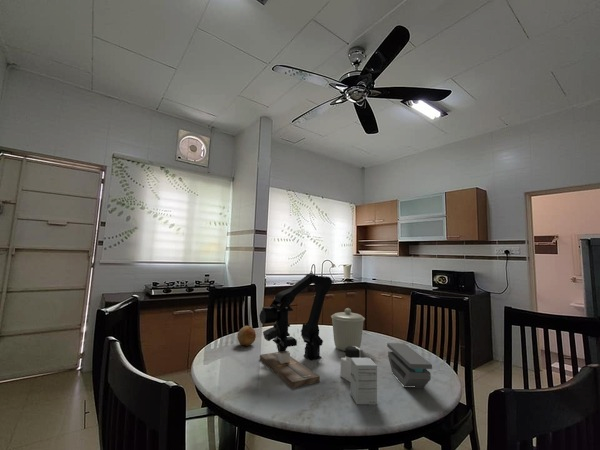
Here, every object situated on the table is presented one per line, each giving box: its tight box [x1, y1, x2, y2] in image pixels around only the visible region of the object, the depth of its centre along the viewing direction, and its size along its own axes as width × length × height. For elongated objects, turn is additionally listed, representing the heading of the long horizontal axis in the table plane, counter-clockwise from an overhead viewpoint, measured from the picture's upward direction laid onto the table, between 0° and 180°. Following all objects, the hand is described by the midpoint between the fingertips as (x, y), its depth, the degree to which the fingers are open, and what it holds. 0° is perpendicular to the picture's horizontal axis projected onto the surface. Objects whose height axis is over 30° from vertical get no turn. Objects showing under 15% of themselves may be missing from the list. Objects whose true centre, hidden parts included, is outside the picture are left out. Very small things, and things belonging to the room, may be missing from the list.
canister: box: [330, 307, 366, 352], centre depth 152 cm, size 18×18×21 cm
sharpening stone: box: [386, 342, 433, 388], centre depth 114 cm, size 25×8×11 cm, turn 2°
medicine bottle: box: [340, 346, 361, 383], centre depth 114 cm, size 7×7×12 cm
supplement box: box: [350, 357, 378, 405], centre depth 98 cm, size 7×7×13 cm
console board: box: [259, 351, 321, 389], centre depth 120 cm, size 12×32×2 cm, turn 30°
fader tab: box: [279, 350, 291, 364], centre depth 123 cm, size 4×3×4 cm
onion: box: [236, 325, 257, 347], centre depth 151 cm, size 10×10×10 cm
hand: (280, 357), depth 126 cm, fingers closed
